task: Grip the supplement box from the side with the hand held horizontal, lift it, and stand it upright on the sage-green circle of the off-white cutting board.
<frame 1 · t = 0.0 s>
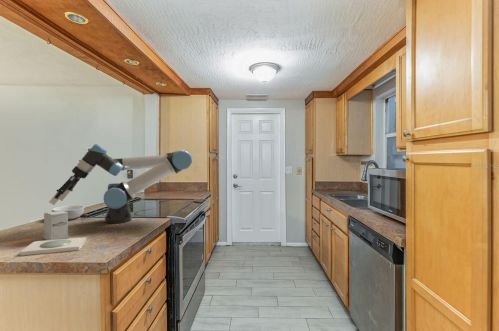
hand: (55, 201, 141), 15 cm above the countertop, tool tilted 35°, fingers open, 13 cm apart
supplement box: (56, 238, 127), on the countertop
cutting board: (56, 247, 114), on the countertop
cereal bowl: (68, 219, 168), on the countertop
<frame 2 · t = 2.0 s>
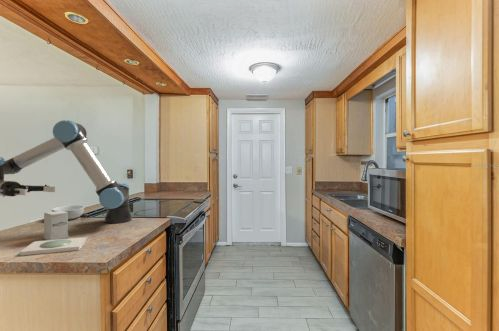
hand: (40, 190, 129), 22 cm above the countertop, tool horizontal, fingers open, 13 cm apart
nothing on the countertop moved.
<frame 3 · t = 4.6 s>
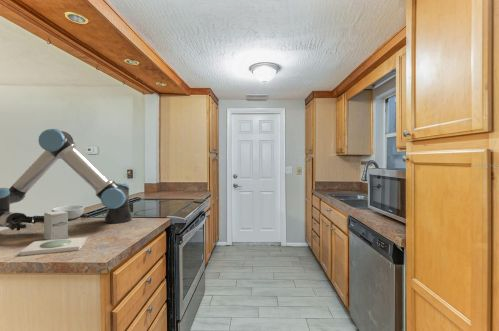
hand: (47, 223, 128), 7 cm above the countertop, tool horizontal, fingers open, 13 cm apart
nothing on the countertop moved.
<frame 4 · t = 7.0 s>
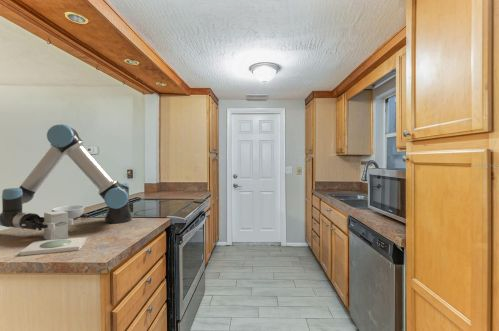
hand: (63, 224, 126), 7 cm above the countertop, tool horizontal, fingers closed on supplement box, 9 cm apart
supplement box: (56, 238, 127), on the countertop, touching gripper
everything else where it was.
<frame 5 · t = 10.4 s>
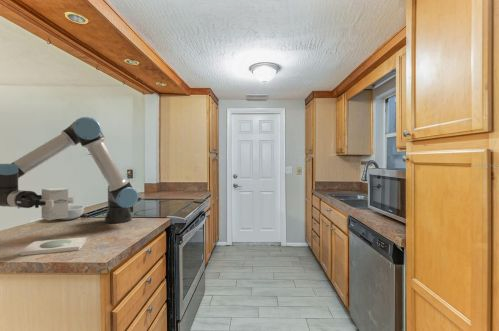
hand: (63, 201, 113), 20 cm above the countertop, tool horizontal, fingers closed on supplement box, 9 cm apart
supplement box: (55, 218, 114), point 13 cm above the countertop, touching gripper
everything else where it was.
when the fingers open (10 cm above the countertop, at t = 13.6 s): supplement box drops 1 cm, resting on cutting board.
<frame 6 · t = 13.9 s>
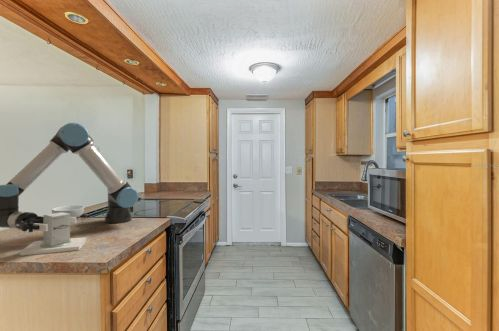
hand: (62, 223, 113), 10 cm above the countertop, tool horizontal, fingers open, 13 cm apart
supplement box: (56, 243, 115), point 2 cm above the countertop, touching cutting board
everything else where it was.
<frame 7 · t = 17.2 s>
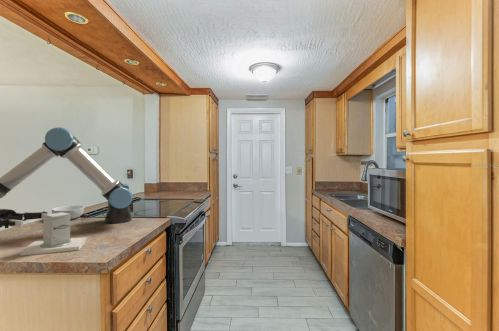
hand: (38, 220, 117), 11 cm above the countertop, tool horizontal, fingers open, 13 cm apart
nothing on the countertop moved.
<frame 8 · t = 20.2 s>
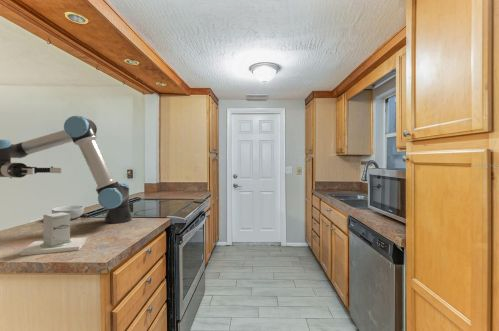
hand: (47, 171, 131), 32 cm above the countertop, tool horizontal, fingers open, 13 cm apart
nothing on the countertop moved.
at the end: supplement box inside the target area on the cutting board (0.6 cm from its centre), point 1.5 cm above the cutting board's base; supplement box tilted 0°; the gripper is holding nothing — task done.
